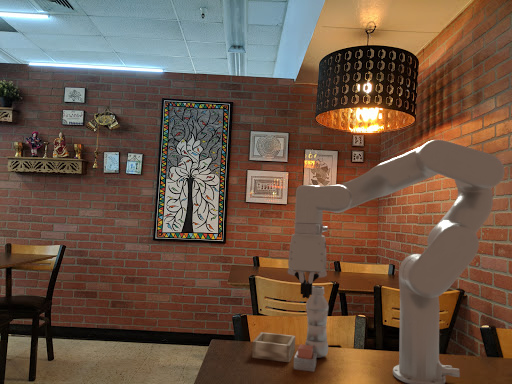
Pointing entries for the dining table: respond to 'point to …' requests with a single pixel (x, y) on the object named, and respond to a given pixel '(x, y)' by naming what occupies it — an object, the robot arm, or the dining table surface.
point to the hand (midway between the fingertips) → (306, 297)
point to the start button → (305, 351)
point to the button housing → (305, 363)
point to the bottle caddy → (274, 347)
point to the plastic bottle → (317, 321)
